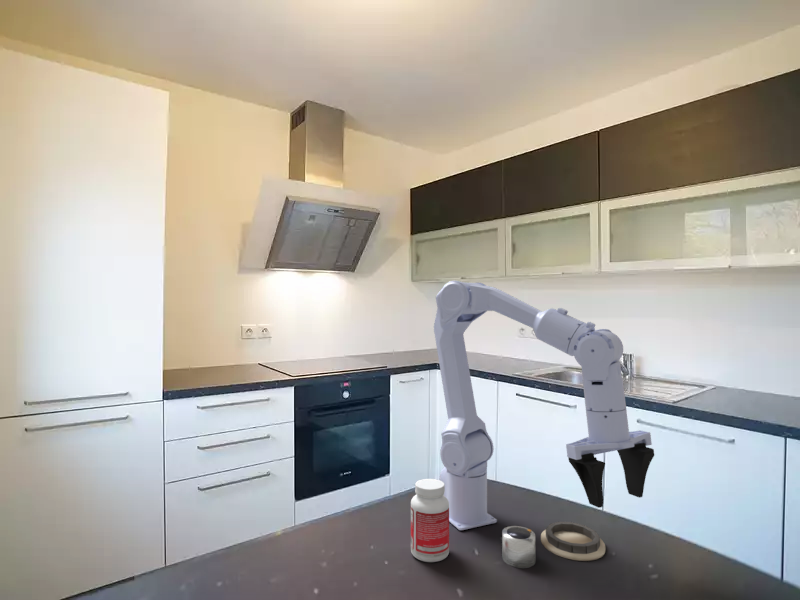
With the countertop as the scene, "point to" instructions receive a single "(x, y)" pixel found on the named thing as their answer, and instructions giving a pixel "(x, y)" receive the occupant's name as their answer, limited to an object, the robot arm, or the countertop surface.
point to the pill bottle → (430, 521)
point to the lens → (518, 546)
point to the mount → (573, 541)
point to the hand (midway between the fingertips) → (616, 500)
